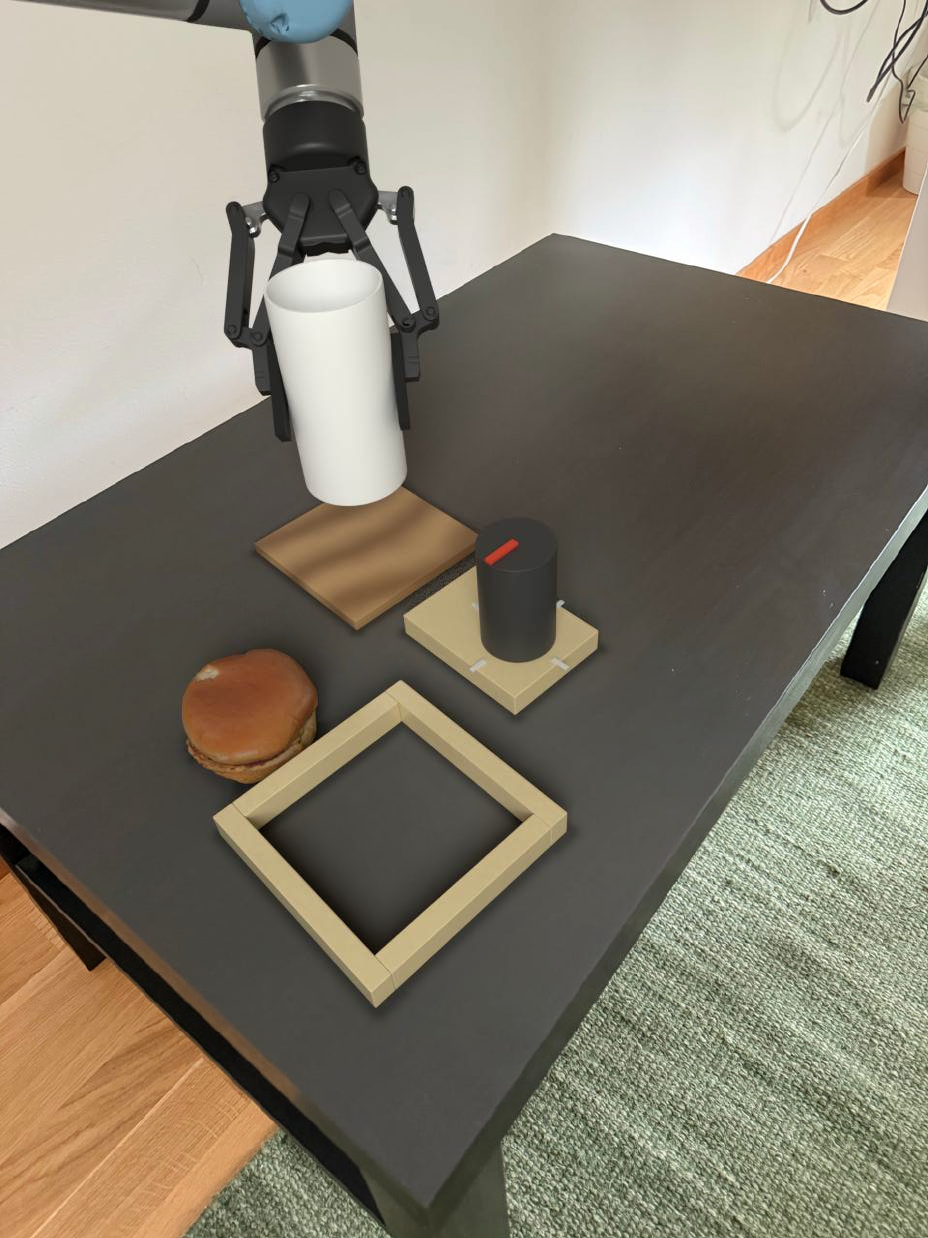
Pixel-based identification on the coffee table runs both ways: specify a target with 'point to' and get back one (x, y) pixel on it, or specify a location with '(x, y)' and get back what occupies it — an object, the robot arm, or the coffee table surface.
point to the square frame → (448, 911)
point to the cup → (338, 378)
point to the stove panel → (457, 641)
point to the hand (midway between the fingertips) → (344, 432)
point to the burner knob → (517, 588)
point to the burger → (249, 714)
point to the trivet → (367, 552)
